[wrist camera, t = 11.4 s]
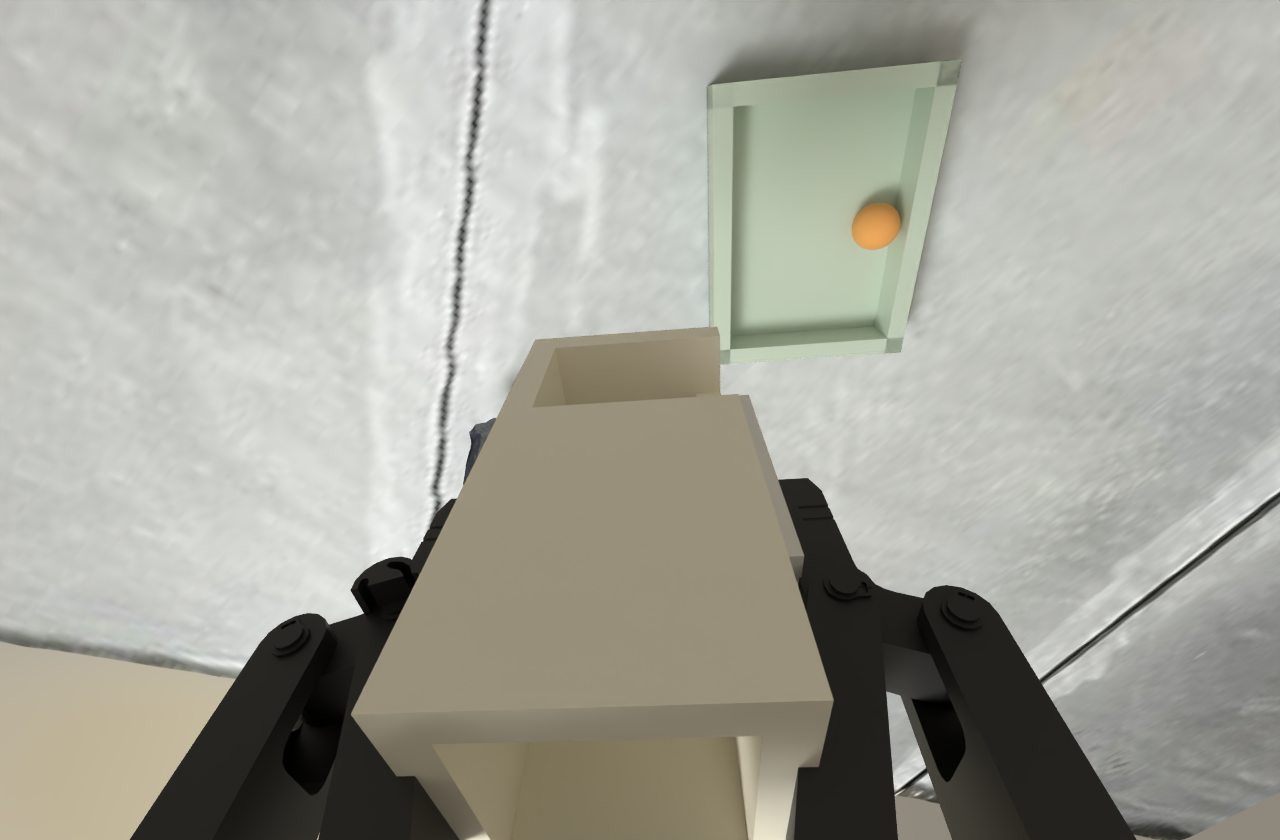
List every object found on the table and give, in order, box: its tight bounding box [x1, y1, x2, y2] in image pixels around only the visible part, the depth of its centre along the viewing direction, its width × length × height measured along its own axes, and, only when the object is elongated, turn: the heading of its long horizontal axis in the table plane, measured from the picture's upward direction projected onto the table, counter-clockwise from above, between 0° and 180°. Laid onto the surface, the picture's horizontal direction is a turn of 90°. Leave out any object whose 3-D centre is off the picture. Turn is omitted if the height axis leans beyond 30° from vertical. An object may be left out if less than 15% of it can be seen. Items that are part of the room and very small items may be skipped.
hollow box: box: [351, 326, 834, 840], centre depth 13 cm, size 6×6×12 cm
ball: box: [852, 203, 901, 250], centre depth 34 cm, size 3×3×3 cm
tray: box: [707, 59, 962, 365], centre depth 35 cm, size 18×14×4 cm
